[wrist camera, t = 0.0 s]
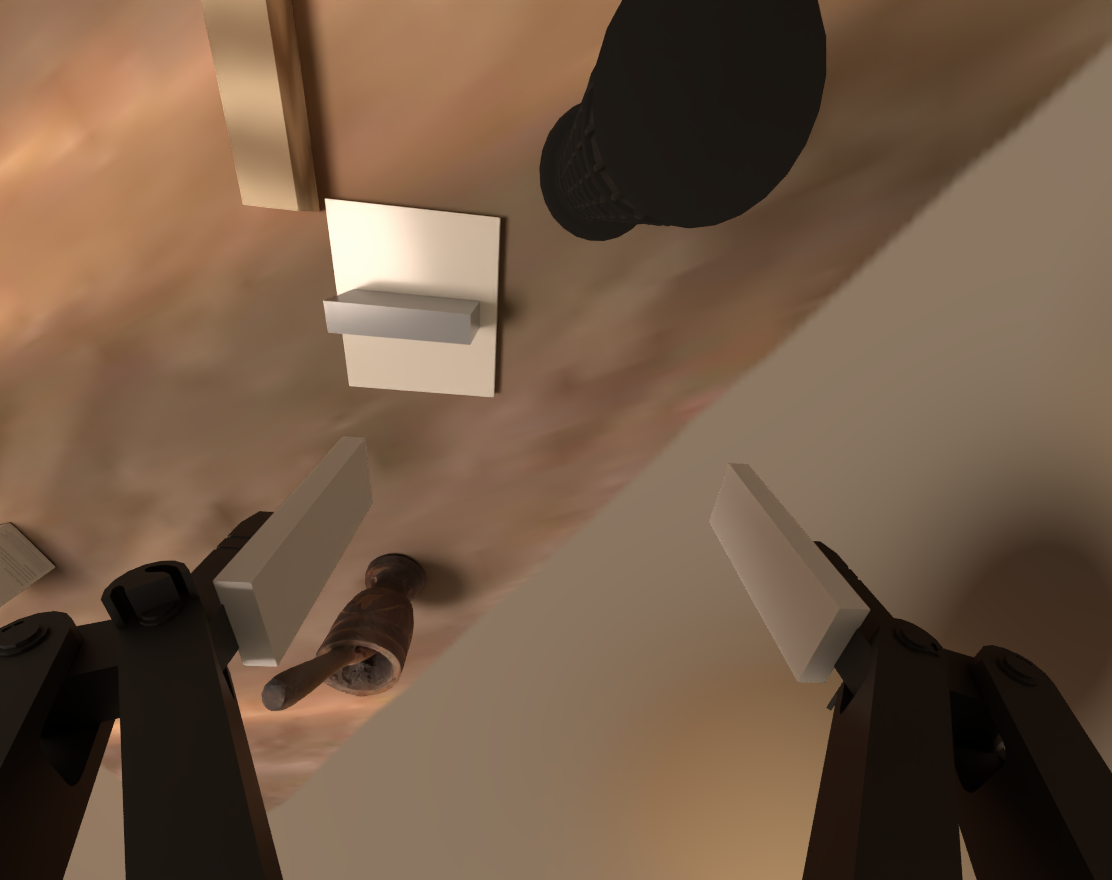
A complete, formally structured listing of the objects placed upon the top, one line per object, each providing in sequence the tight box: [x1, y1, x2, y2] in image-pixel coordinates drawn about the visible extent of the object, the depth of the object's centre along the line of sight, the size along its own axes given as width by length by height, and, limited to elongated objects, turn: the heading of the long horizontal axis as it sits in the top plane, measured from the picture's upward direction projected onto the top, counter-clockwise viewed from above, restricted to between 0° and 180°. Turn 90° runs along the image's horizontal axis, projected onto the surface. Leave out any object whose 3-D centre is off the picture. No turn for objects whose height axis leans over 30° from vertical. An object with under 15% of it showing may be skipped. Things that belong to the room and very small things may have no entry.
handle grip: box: [540, 0, 826, 241], centre depth 23 cm, size 10×26×10 cm
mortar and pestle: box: [262, 555, 426, 711], centre depth 45 cm, size 12×9×20 cm
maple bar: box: [201, 0, 320, 211], centre depth 30 cm, size 20×4×4 cm, turn 174°
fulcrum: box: [323, 199, 501, 397], centre depth 36 cm, size 16×14×7 cm
